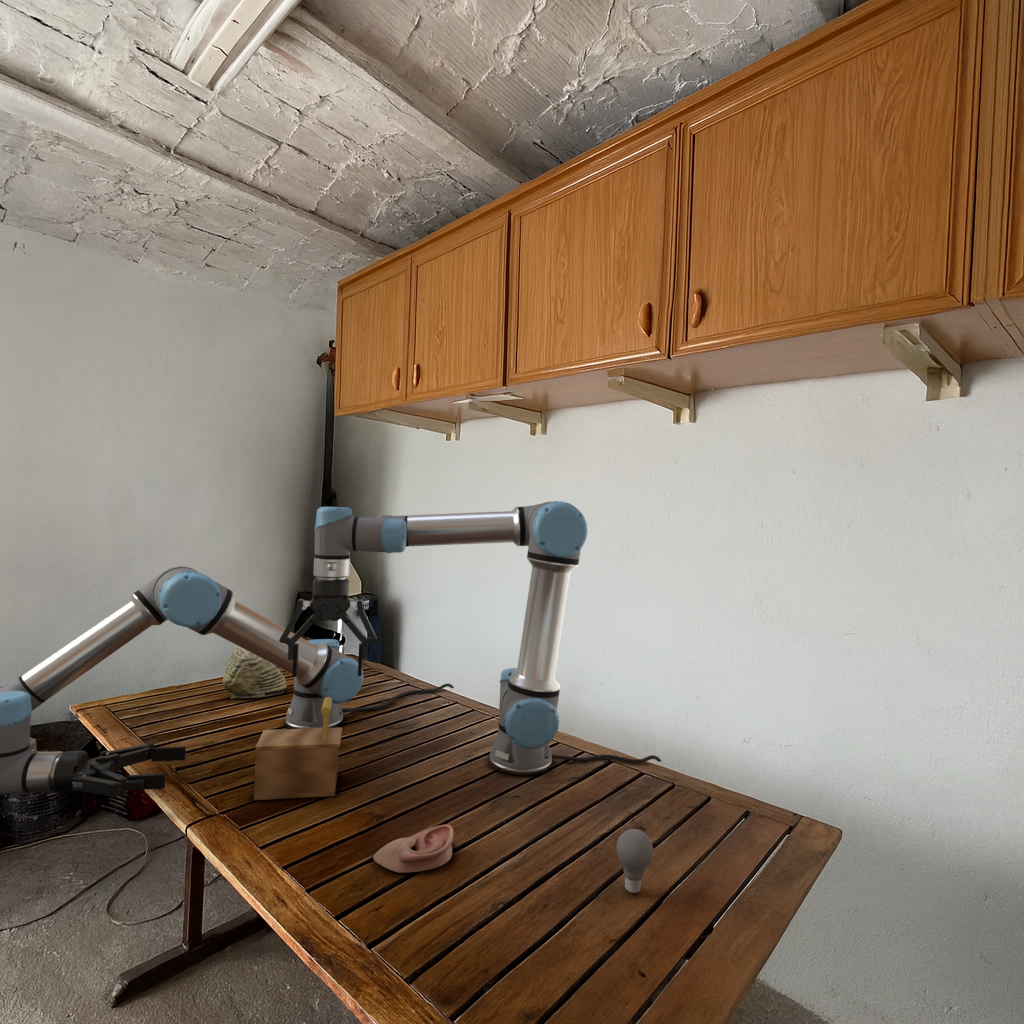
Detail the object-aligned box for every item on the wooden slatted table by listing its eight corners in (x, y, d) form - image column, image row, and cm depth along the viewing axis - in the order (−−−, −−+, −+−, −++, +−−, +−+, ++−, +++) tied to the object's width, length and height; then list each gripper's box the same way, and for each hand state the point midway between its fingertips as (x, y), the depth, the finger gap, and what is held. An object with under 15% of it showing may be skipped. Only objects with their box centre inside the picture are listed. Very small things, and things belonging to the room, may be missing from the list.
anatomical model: (366, 844, 109) (392, 812, 120) (365, 867, 109) (391, 833, 120) (440, 856, 106) (459, 823, 117) (439, 880, 106) (458, 844, 117)
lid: (342, 730, 144) (343, 694, 144) (339, 747, 134) (341, 708, 134) (263, 733, 140) (264, 696, 140) (255, 750, 131) (257, 710, 131)
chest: (337, 776, 144) (339, 731, 144) (334, 795, 134) (336, 747, 134) (261, 779, 140) (263, 733, 140) (253, 800, 131) (255, 750, 131)
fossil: (218, 695, 195) (220, 647, 195) (278, 685, 208) (279, 640, 207) (228, 703, 189) (230, 653, 188) (289, 692, 201) (290, 645, 201)
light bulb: (610, 879, 108) (613, 822, 108) (644, 879, 109) (647, 822, 109) (619, 902, 102) (622, 840, 102) (655, 901, 103) (658, 840, 103)
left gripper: (87, 764, 140) (191, 759, 144) (26, 821, 115) (154, 813, 120) (88, 730, 139) (192, 727, 144) (27, 780, 115) (155, 774, 120)
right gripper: (267, 578, 131) (264, 680, 132) (390, 580, 137) (386, 678, 137) (273, 574, 139) (269, 670, 139) (389, 576, 144) (385, 669, 144)
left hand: (175, 766), depth 132 cm, fingers open, 13 cm apart
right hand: (327, 674), depth 138 cm, fingers open, 13 cm apart
